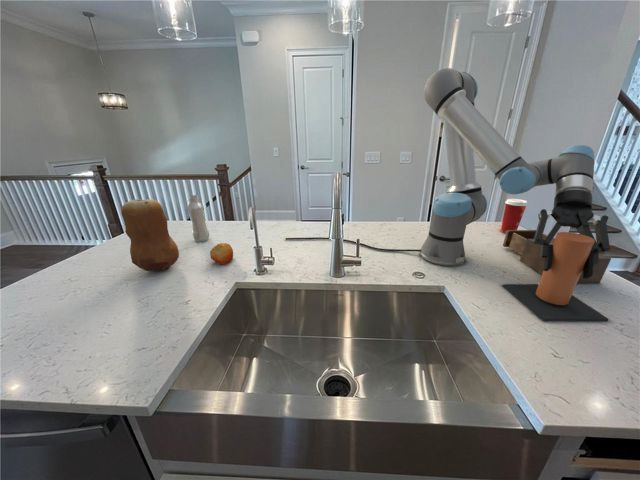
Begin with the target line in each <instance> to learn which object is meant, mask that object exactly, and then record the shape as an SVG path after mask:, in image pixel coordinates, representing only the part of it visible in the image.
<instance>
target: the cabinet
mask: <svg viewBox="0 0 640 480" xmlns="http://www.w3.org/2000/svg"><path fill="white" fill-rule="evenodd" d="M533 240H534V239H527V241H526V244H525V247H524V250H523V253H522V256H521V255H520V256H521V257H520V260H519V261H520V262H522V263H523V264H524V265H526V266H528V267H529V268H531V269H532V270H534V271H535V272H537V273H539V274H540V275H542V274H543V271H544V261H545V258H542V257H541V256H540V254H541V248H540V245H538V244H534V243H533ZM544 240H545V239H544ZM554 240H555V238H554V239H552V240H551V242H550V243H549V245H553V243H554ZM611 261H612V258H611V257H608V256H606V255H605V254H599V258H598V264H597V265H596V266H593V276H591V277H589V278H588V279H585V278H583V270H582V273H581V275H580V277H579V280H578V282H577V284H601V282H602V280H603V278H604V275H605V273H606V270H608V267H609V265H610V263H611ZM583 269H584V268H583Z"/></svg>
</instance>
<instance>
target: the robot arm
mask: <svg viewBox="0 0 640 480" xmlns="http://www.w3.org/2000/svg"><path fill="white" fill-rule="evenodd" d="M478 90H479V86H478V82H477V81H476V78H475V77H473V75H471V74H470V73H468V72H466V71H460V70H457V69H454V68H450V67H445V68H441V69H439V70H436V71H435V72H434V73H433V74H431V75H430V77H429V78H428V79H427V80H426V82H425V85H424V90H423V97H424V101H425V102H426V104H427V105H428V106H429V108H430V109H431V110H432V111H433V112H434V113H435V114H436V116H437V117H438V119H439V120H440V121H441V122H443V128H444V137H445V146H446V156H447V165H448V175H449V183H450V186H449V188H448V189H447V190H446V192H445V193H444V192H443V193H440V194H438V195H437V196H435V198H434V200H433V204H432V207H431V208H432V209H431V215H430V223H429V229H428V235H427V237H426V238H425V241H424V243H423V244H422V246H421V247H420V249H400V248H399V249H397V248H396V249H395V248H394V249H393V248H381V247H375V246H371V245H368V244H365V243H363V242H359V243H360V246H362V247H363V246H364V247H367V248H368V249H372V250H376V251H384V252H419V254H420V257H421V258H422V259H423V260H425V261H426V262H429V263H431V264H434V265H438V266H442V267H457V266H461V265H463V264H464V262H465V260H466V252H465V251H466V250H465V245H464V238H465V234H466V228H467V226H468V225H469V224H471V223H473V222H476V221H478V220H479V219H481V218H482V216H484V214H485V213H486V211H487V209H488V200H487V198H486V196H485V195H484V193H483V189H482V188H483V187H482V185H481V184H480V183H479V182H477V176H476V165H475V154H476V155H477V156H478V157H479V158H480V160H481V161H482V162H483V163H484V164H485V165H486V167H488V169H489V170H490V171H491V172H492V173H493V174H494V175H495V177H496V178H497V179H498V182H499V187H500V189H501V190H502V191H503V192H504V193H506V194H508V195H521V194H524V193H527V192H528V191H530V190H531V189H533V188H535V187H540V186H546V185H554V184H555V190H554V199H553V208H552V209H551V210H547V209H544V208H543V209H541V210H540V211H539V213H538V215H537V217H538V224H537V227H536V229H535V230H536V233H535V237H534V240H533V243H534V244H538V245H540V248H541V254H540V256H541V257H542V258H545V261H544V271H548V270H549V269H550V268H551V263H552V253H553V245H549V243H550V242H551V240H552V239H553V238H554V237H556V235H557V233H559V230H560V229H561V227H564V228H565V227H566V228H567V227H570V228H572V229H573V228H574V229H575V230H576V232H577V233H578V234H582V235H585V236H588V237H591V238H593V239H594V240H595V242H594V245H593V247H592V249H591V252H590V254H589V256H588V259H587V261H586V263H585V266H584V269H583V278H585V279H588V278H589V277H591V276H593V266H596V265H597V264H598V258H599V254H602V255H605V254H606V253H607V252H609V251H610V250H611V246H610V240H609V232H608V227H607V222H608V220H609V216H608V215H605V214H604V215H602V216H600V215H596V214H595V212H593V210H592V209H593V192H594V173H595V152H594V149H593V148H592V147H590V146H589V145H584V144H575V145H570V146H568V147H567V148H564V149H562V150H561V151H560V152H559V154H558V156H557V157H554V158H549V159H545V160H538V161H533V162H527V161H526V160H525V159H524V158H523V157H522V156H521V154H520V153H519V152H518V151H517V150H515V148H514V147H513V146H512V145H511V144H510V143H509V142H508V140H506V138H505V137H503V135H501V133H500V132H499V131H498V130H497V129H496V128H495V127H494V125H492V124H491V122H490V121H489V120H488V119H487V118H486V117H485V116H484V115H483V114H482V113H481V111H479V109H477V107H476V105H475V99H476V98H477V95H478V92H479V91H478ZM550 217H552V219H553V220H555V224H554V225H553V226H552V228H551V230H550V231H549V232H548V234H546V235H547V237H546V238H545V240H544V239H542V235H543V233H544V231H545V228H546V225H547V222H548V219H549V218H550ZM590 221H592V224H593V226H594V232H595V236H594V234H593V232H592V230H591V228H590V224H589V222H590ZM595 237H596V238H595ZM329 238H330V237H321V236H319V237H317V236H315V237H314V236H313V237H286V238H285V240H287V241H289V240H330V239H329ZM342 239H343V241H342V242H347V243H352V244H356V242H357V241H355V240H349V239H344V238H342ZM356 245H357V244H356Z"/></svg>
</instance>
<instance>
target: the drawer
mask: <svg viewBox="0 0 640 480" xmlns="http://www.w3.org/2000/svg"><path fill="white" fill-rule="evenodd" d="M536 230H537V229H517V230H507V231H506V232H505V233H504V234H505V236H504V240H503V243H502V247H504V248H509V249H510V250H511V251H513V252H515V253H517V254H518V255H520V256H522V253H523V250H524V247H525V244H526V241H527V239H534V237H535V233H536ZM547 235H548V234H546V233H544V232H543V235H542V239H545V238H546V237H547ZM553 239H555V238H554V237H553Z"/></svg>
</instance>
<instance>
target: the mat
mask: <svg viewBox="0 0 640 480" xmlns="http://www.w3.org/2000/svg"><path fill="white" fill-rule="evenodd" d="M538 285H539V283H517V284H516V283H507V284H505V283H504V284H502V285H501V286H502V288H504V289H505V290H506V291H508V293H510V295H512V296H513V297H514V298H515V299H516V300H518V301H519V302H520V303H521V304H522V305H523V306H525V307H526V308H527V309H529V311H531V312H532V313H533V314H534V315H535V316H536V317H538V318H539V319H540V320H541V321H543V322H608V321H609V318H608V317H606V316H605V315H603V314H601V312H598V311H597V310H596V309H594V308H593V307H592V306H589V305H588V304H586V303H585V302H583V301H582V300H580V299H579V298H577V297H576V296H574V295H573V294H572V296H571V298H570V301H569V303H568V304H567V305H556V304H552V303H549V302H546V301H544V300H542V299H540V298H539V297H538V296H537V295H536V290H537V287H538Z"/></svg>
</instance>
